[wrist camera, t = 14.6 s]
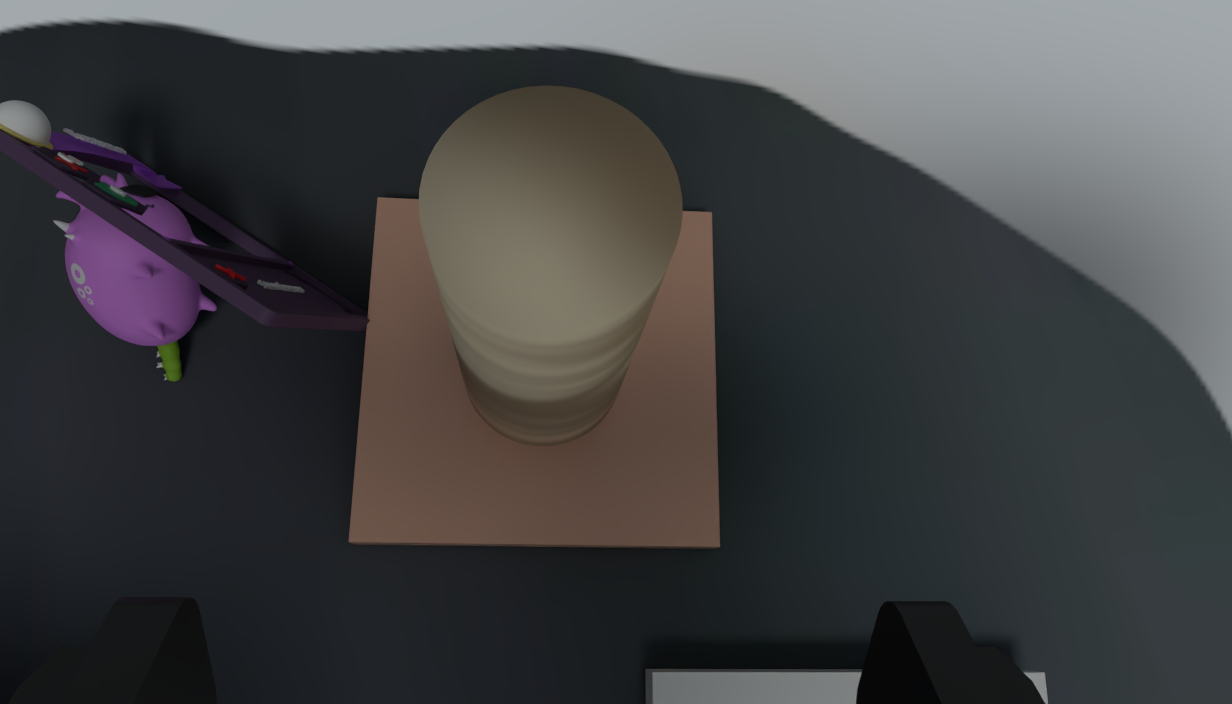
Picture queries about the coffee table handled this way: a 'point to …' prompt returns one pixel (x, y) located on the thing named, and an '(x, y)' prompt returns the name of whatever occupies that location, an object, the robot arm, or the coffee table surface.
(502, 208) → the birch peg
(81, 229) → the purple toy figure
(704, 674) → the pocket block
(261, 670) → the coffee table surface
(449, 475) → the terracotta tile
